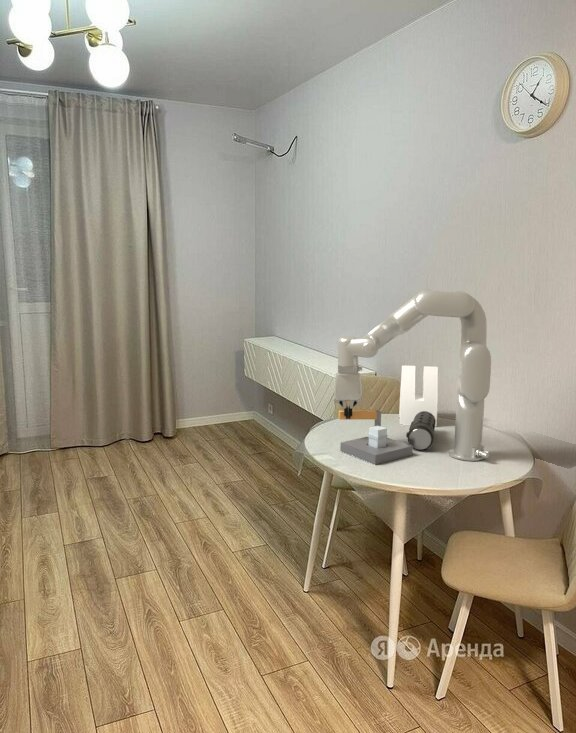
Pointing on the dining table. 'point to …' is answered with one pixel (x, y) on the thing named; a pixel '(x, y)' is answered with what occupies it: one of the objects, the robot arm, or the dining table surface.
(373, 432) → the plug
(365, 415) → the try square
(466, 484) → the dining table surface
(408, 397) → the white u-shaped block
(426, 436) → the muzzle brake
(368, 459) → the socket block
